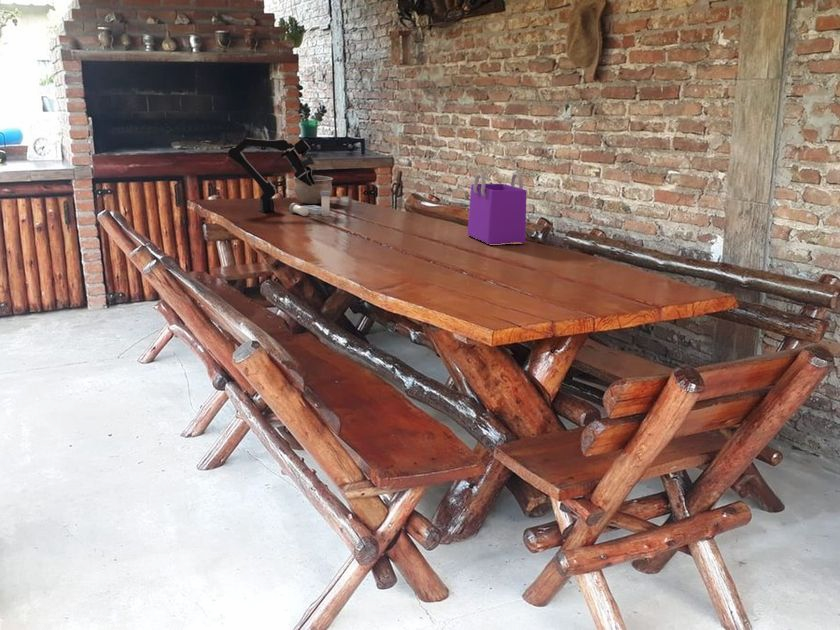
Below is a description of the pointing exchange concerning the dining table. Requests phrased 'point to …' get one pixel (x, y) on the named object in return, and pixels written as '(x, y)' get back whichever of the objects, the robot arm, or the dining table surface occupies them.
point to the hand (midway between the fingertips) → (312, 185)
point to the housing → (314, 209)
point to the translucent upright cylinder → (325, 202)
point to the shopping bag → (497, 211)
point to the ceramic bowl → (312, 189)
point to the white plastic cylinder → (298, 209)
